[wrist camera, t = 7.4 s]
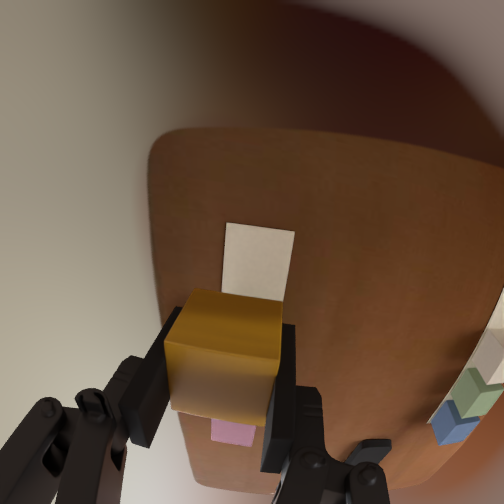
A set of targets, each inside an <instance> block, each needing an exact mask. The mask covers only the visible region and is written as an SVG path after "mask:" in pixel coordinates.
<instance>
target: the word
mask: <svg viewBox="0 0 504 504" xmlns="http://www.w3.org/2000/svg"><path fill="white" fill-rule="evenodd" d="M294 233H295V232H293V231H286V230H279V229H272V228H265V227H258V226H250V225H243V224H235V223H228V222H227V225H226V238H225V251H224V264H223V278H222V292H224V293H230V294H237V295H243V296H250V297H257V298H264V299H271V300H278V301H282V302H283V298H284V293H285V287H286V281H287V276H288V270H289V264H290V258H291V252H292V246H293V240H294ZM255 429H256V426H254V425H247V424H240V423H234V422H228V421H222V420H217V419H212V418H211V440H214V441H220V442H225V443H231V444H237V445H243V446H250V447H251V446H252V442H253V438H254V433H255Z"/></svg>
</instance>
